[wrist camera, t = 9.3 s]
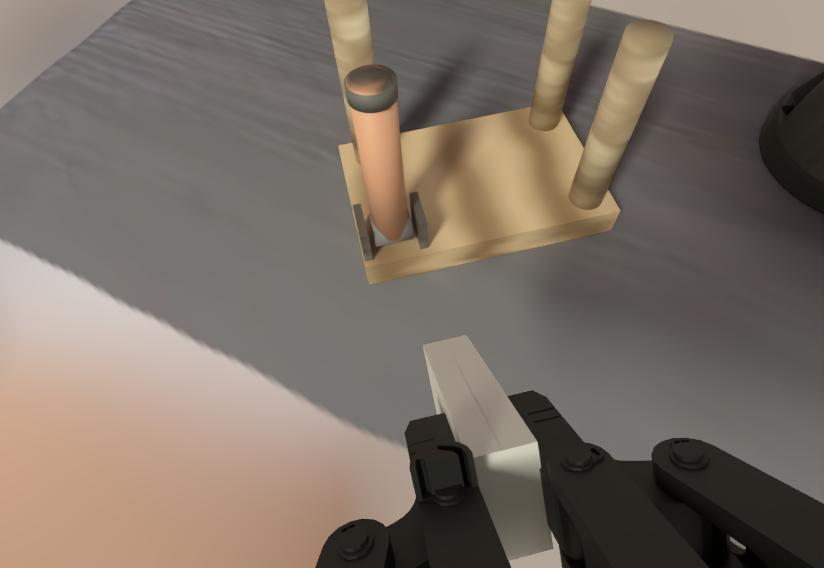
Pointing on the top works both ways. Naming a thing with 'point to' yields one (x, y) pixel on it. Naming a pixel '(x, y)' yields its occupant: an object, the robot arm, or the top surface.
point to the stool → (504, 153)
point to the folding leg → (380, 150)
